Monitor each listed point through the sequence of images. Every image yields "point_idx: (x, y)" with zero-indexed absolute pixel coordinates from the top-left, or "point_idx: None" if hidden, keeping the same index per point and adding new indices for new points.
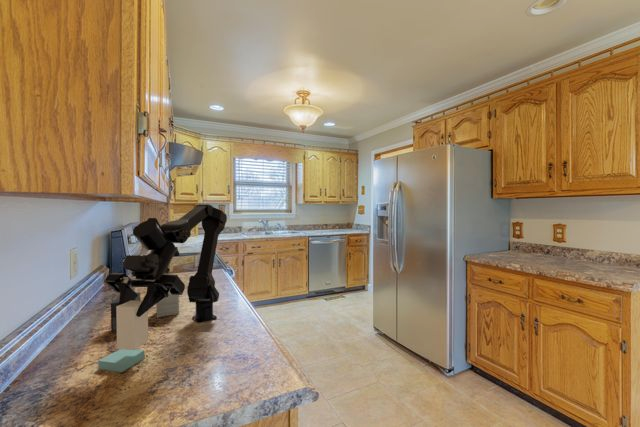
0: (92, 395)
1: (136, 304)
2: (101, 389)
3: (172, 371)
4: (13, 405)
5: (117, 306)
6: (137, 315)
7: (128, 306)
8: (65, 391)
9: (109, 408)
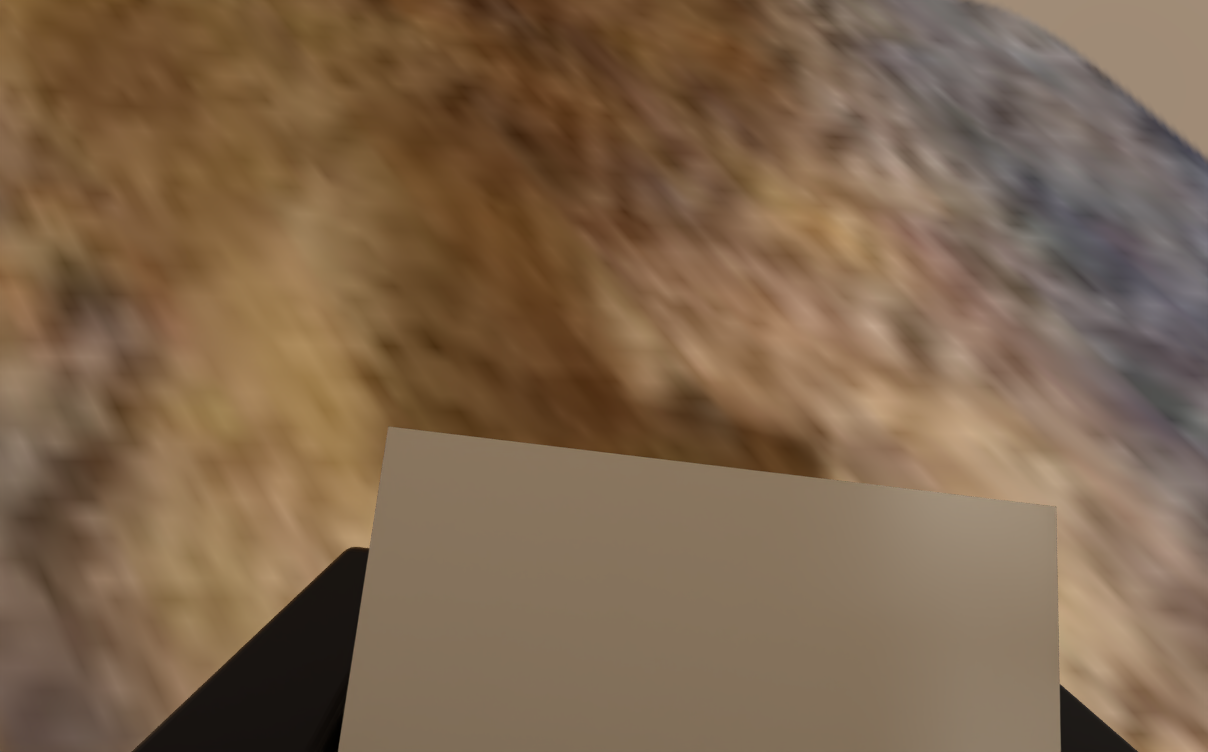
0: (632, 258)
1: (485, 738)
2: (619, 344)
3: (27, 681)
4: (1149, 156)
5: (1017, 503)
6: (353, 552)
7: (641, 505)
8: (922, 321)
9: (353, 88)
